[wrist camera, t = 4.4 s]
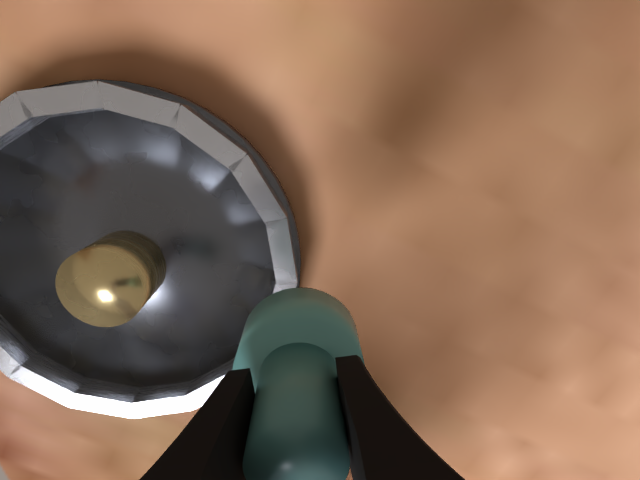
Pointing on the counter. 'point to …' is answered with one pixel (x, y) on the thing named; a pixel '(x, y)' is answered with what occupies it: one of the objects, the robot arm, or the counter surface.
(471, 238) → the counter surface
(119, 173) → the round metal bowl
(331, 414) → the teal mushroom knob
